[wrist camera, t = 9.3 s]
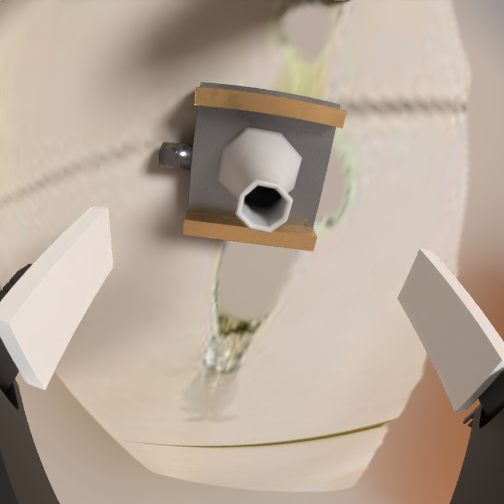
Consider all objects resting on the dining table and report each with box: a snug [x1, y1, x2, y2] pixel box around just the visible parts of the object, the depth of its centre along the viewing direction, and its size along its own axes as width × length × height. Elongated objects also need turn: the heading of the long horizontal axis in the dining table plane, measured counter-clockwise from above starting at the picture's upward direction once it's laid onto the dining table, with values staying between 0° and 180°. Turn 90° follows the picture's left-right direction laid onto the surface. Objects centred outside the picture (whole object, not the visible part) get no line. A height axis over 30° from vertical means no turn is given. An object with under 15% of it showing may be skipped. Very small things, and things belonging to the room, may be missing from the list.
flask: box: [217, 126, 302, 233], centre depth 21 cm, size 7×7×10 cm
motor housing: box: [159, 82, 346, 251], centre depth 26 cm, size 14×15×4 cm
